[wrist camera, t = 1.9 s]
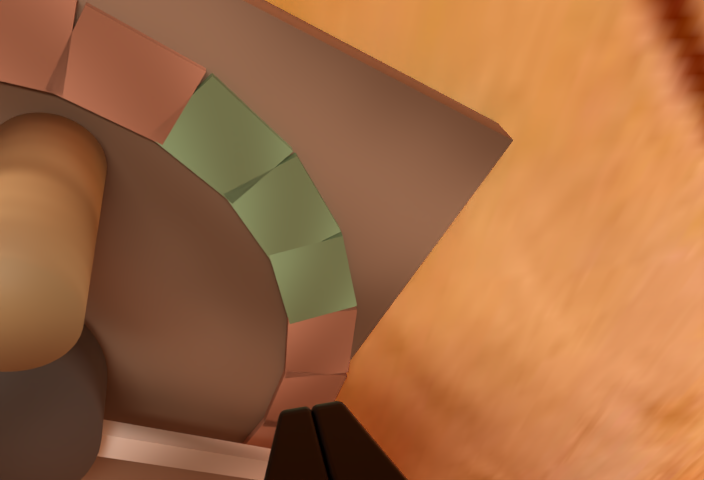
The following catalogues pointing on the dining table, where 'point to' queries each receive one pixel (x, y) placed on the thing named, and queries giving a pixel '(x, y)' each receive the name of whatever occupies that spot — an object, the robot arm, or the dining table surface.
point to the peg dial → (68, 320)
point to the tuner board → (239, 200)
